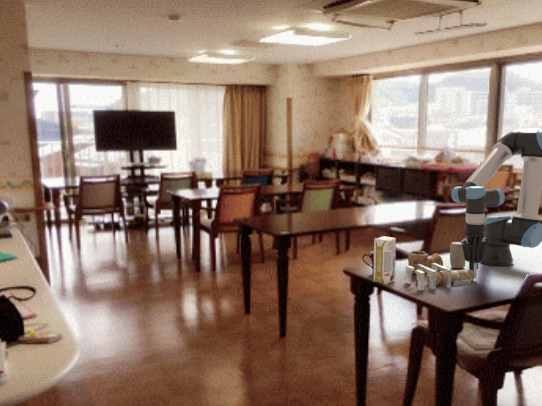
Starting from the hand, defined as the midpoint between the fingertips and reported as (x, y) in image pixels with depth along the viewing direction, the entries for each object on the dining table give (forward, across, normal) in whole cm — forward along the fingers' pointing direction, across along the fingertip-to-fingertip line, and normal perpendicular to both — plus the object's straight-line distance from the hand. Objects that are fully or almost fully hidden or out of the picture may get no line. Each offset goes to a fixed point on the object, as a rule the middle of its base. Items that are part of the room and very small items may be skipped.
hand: (473, 277), depth 211 cm
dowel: (+1, +11, 0) cm, 11 cm away
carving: (+2, -6, -19) cm, 20 cm away
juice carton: (+1, +37, -10) cm, 38 cm away
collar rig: (+1, +17, 0) cm, 17 cm away
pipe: (+2, +13, -16) cm, 21 cm away
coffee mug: (+1, +34, -22) cm, 41 cm away
